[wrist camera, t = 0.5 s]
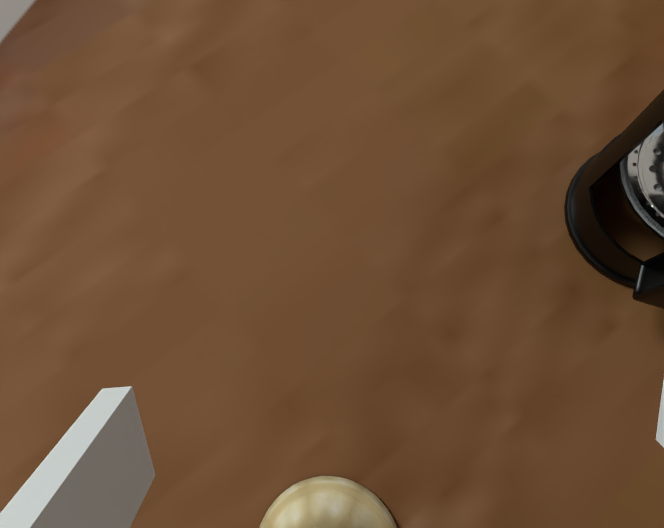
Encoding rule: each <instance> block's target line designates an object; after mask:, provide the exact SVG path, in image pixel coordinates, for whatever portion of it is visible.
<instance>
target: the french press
mask: <svg viewBox="0 0 664 528" xmlns="http://www.w3.org/2000/svg"><path fill="white" fill-rule="evenodd" d="M616 166H618V174H619V180H620V185H621V188H622V190H623V193H624V196H625V198H626V200H627V202H628V204H629V205H630V207H631V209H632V211H633V212H634V213H635V215H636V216H637V217H638V218H639V219H640V220H641V222H642V223H643V224H644V225H645V226H646V227H647V228H649V229H650V230H651V231H652V232H653V233H654V234H655V235H657V236H658V237H660V238H661V239H663V240H664V90H663V91H662V92H661V93H660V94H659V95H658V96H657V97H656V98H655V99H654V100H653V101H652V102H651V103H650V104H649V105H648V107H647V108H646V109H645V110H644V111H643V112H642V113H641V114H640V115H639V116H638V117H637V118H636V119H635V120H634V121H633V122H632V123H631V124H630V125H629V126H628V127H627V128H626V129H625V130H624V131H623V132H622V133H621V134H620V135H618V136H617V137H615V138H614V139H613V140H612V141H611V142H610V143H609V144H608V145H607V146H606V147H604V148H603V150H602V151H600V152H599V153H597V154H596V155H594V156H592V157H591V158H590V159H589V160H588V161H587V162H586V163H585V164H584V165H582V166H581V167H580V168H579V170H578V171H577V173H576V174H575V176H574V177H573V179H572V180H571V183H570V185H569V188H568V190H567V193H566V199H565V206H564V209H565V222H566V225H567V229H568V232H569V235H570V237H571V239H572V241H573V243H574V245H575V247H576V249H577V250H578V251H579V252H580V254H581V255H582V256H583V257H584V259H585V260H586V261H587V262H588V263H589V264H590V265H592V266H593V267H594V268H595V269H596V270H597V271H598V272H600V273H602V274H603V275H605V276H607V277H608V278H610V279H612V280H614V281H616V282H619V283H622V284H624V285H627V286H630V287H634V292H633V299H634V300H636V301H640V302H643V303H646V304H650V305H653V306H656V307H660V308H663V309H664V253H661V254H659V255H657V256H655V257H653V258H650V259H648V260H646V261H644V262H643V261H642V260H640V259H638V258H637V257H635V256H633V255H631V254H630V253H628V252H627V251H626V250H625V249H623V248H622V247H621V246H620V245H619V244H618V243H616V242H615V240H614V239H613V238H612V237H611V236H610V234H609V233H608V232H607V231H606V229H605V227H604V226H603V224H602V222H601V220H600V218H599V217H598V214H597V210H596V207H595V204H594V198H593V188H594V186H595V185H596V184H597V183H598V182H600V181H601V180H602V179H603V178H604V177H605V176H606V175H607V174H608V173H609V172H610V171H611V170H613V169H614V168H615V167H616Z"/></svg>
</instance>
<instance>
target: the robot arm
mask: <svg viewBox="0 0 664 528" xmlns="http://www.w3.org/2000/svg"><path fill="white" fill-rule="evenodd" d="M656 440H657V441H658V442H659V443H660V444H661V445H662V446H663V447H664V381H663V389H662V396H661V404H660V411H659V419H658V426H657V434H656ZM154 477H155V472H154V468H153V465H152V461H151V457H150V453H149V449H148V446H147V442H146V438H145V434H144V430H143V426H142V423H141V419H140V415H139V411H138V407H137V403H136V400H135V396H134V392H133V388H132V386H130V387H117V388H105V389H102V390H101V391H100V392H99V393H98V394H97V396H96V397H95V398H94V399H93V401H92V402H91V403H90V404H89V405H88V407H87V408H86V409H85V410H84V412H83V413H82V414H81V415H80V416H79V418H78V419H77V420H76V421H75V423H74V424H73V425H72V426H71V427H70V429H69V430H68V431H67V432H66V434H65V435H64V436H63V437H62V438H61V440H60V441H59V442H58V443H57V445H56V446H55V447H54V448H53V449H52V451H51V452H50V453H49V454H48V456H47V457H46V458H45V459H44V460H43V462H42V463H41V464H40V465H39V467H38V468H37V469H36V470H35V471H34V473H33V474H32V475H31V476H30V478H29V479H28V480H27V481H26V482H25V484H24V485H23V486H22V487H21V489H20V490H19V491H18V492H17V493H16V495H15V496H14V497H13V498H12V500H11V501H10V502H9V503H8V504H7V506H6V507H5V508H4V509H3V510H2V512H1V513H0V528H130V526H131V524H132V522H133V520H134V518H135V516H136V514H137V512H138V510H139V508H140V506H141V504H142V502H143V499H144V497H145V495H146V493H147V491H148V489H149V487H150V485H151V483H152V481H153V479H154Z"/></svg>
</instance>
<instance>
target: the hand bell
mask: <svg viewBox="0 0 664 528" xmlns="http://www.w3.org/2000/svg"><path fill="white" fill-rule="evenodd" d="M260 528H397V526H396V524H395V521H394V519H393V517H392V516H391V514H390V512H389V511H388V509H387V508H386V507H385V505H384V504H383V503H382V501H381V500H380V499H379V498H378V497H377V496H376V495H375V494H373V493H372V492H371V491H369V490H368V489H367V488H365V487H363V486H362V485H360V484H358V483H356V482H354V481H352V480H348V479H345V478H341V477H334V476H319V477H313V478H310V479H306V480H303V481H301V482H298V483H296V484H294V485H293V486H291V487H290V488H288V489H287V490H286V491H284V492H283V493H282V494H281V495H280V496H279V497H278V498H277V499H276V500H275V501H274V502H273V504H272V505H271V506H270V508H269V509H268V511H267V513H266V515H265V516H264V518H263V520H262V522H261V525H260Z"/></svg>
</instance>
